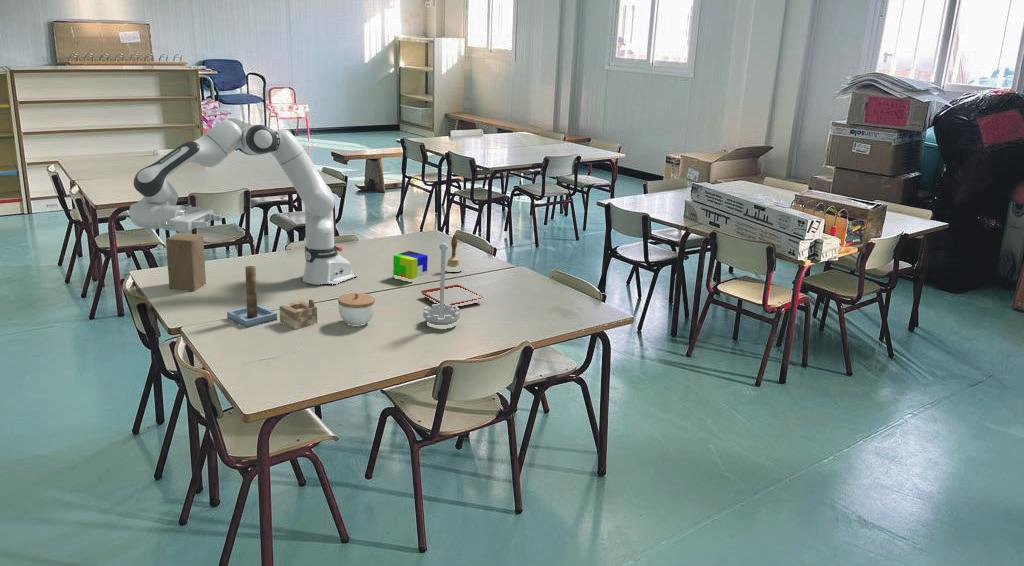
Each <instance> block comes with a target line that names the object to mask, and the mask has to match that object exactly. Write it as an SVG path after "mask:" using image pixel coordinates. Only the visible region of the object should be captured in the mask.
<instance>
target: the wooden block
mask: <svg viewBox="0 0 1024 566" xmlns="http://www.w3.org/2000/svg"><path fill="white" fill-rule="evenodd" d="M204 244H205V243H204V235H203V234H198V233H196V234H195V233H187V232H178V233H175V234H173V235H171V236H169V237H167V238H166V239H165V247H166V261H167V274H168V286H169V287H168V288H169V290H177V291H184V290H189V291H188V292H195V290H196V291H197V290H199V289H200V288H202V287H203V286H205V285H206V284H207V279H206V278H207V277H206V276H207V275H206V260H205V259H206V258H205V246H204ZM204 284H205V285H204ZM201 286H202V287H201ZM198 288H199V289H198Z"/></svg>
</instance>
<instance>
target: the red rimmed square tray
mask: <svg viewBox="0 0 1024 566" xmlns="http://www.w3.org/2000/svg"><path fill="white" fill-rule="evenodd" d="M453 287H460V288H463V289H465V290H468V291H470V292H472V293H474V294H476V295H479V296H481V297H482V298H483V299H484V296H483V295H480V294H478V293H476V292H474V291H472V290H470V289H469V288H466V287H464V286H462V285H460V284H452V285H447V286H445V289H448V288H453ZM438 290H440V287H434V288H428V289H422V290H420V293H421V294H422V295H423V296H424V295H425V296H427V297H429V298H431V299H433V300H435V301H436V302H438V303H440V301H439V300H437V299H435V298H433V297H431V296H430V295H428V294H426V293H427V292H433V291H438ZM425 296H424V297H425ZM478 299H481V298H478ZM473 300H477V299H472V300H467V301H461V302H456V303H451V304H448V305H455V304H460V303H464V302H468V301H473ZM444 306H445V304H444Z"/></svg>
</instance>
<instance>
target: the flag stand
mask: <svg viewBox="0 0 1024 566" xmlns="http://www.w3.org/2000/svg"><path fill="white" fill-rule="evenodd" d="M448 249H449V245H448V244H447V243H446V242H441V243H440V244H439V250H440V251H441V253H440V255H441V258H440V285H439V286H440V306H439V304H435V303H432V304H431V307H430V306H428V305H427V306H425V307H423V312H422V317H423V319H425V322H426V321H427V322H429V323H431V324H434V325H448V324H452V323H454V322H456V321H457V322H458V320H459V319H460V317H461V313H460V312H461V311H460V307H455V308H452V305H448V304H445V307H444V289H445V285H446V282H445V281H446V272H445V267H446V258H447V257H446V256H447V253H446V252H447V250H448ZM444 315H445V318H444ZM438 317H439V318H438Z"/></svg>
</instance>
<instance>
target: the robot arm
mask: <svg viewBox="0 0 1024 566" xmlns="http://www.w3.org/2000/svg"><path fill="white" fill-rule="evenodd" d="M236 150H237V151H239V152H241V153H242V154H245V155H248V156H261V155H265V154H268V153H269V154H271V155H272V156H273V157H274V158H275V159H276V161H277V163H278V164H279V166H280V167H281V169H282V171H283V172H284V174H285V175H286V176H287V178H288V179H289V181H290V182H291V184H292V186H293V188H294V190H295V191H296V193H297V194H298V196H299V197H300V199H301V201H302V203H303V204H304V219H305V221H304V223H305V224H304V225H305V226H304V227H305V246H304V257H305V264H304V266H305V267H304V272H303V275H302V281H303V282H304V283H306V284H310V285H320V284H321V285H322V284H332V285H331V286H334V285H333V284H336V285H339V284H341V283H340V282H342V281H345V280H347V279H349V278H351V277H354V276H355V275H354V274H352V273H354V271H353V270H352V264H351V263H350V262H349V260H347V259H346V258H344V257H343V256H341V255H340V254H339V252H340V253H341V252H343V247H342V246H339V245H335V224H334V222H335V221H334V207H335V197H334V194H333V192H332V189H331V187H329V185H327V184H326V182H325V180H324V179H323V177H322V176H321V174H320V172H319V171H318V169H317V167H316V166H315V164H314V162H313V161H312V159H311V158H310V156H309V155H308V153H307V152H306V150H305V148H304V147H303V146H302V144H301V142H299V140H298V139H297V138H296V137H295V135H294V134H293V133H292V132H291V131H290V130H287V129H281V128H280V129H277V130H274V129H272V128H270V127H268V126H266V125H264V124H253V125H249V126H245V127H240V126H239V125H238V124H236V122H234V121H232V120H229V119H225V120H222V121H220V122H219V123H217V124H216V125H214V126H213V127H211V128H210V129H208V130H207V131H206V132H205V133H203V135H201V136H200V137H198V138H197V139H195V140H190V141H186V142H183V143H182V144H181V145H179V146H176V148H174V149H173V150H171V151H169V152H168V153H167V154H165V155H164V156H162V157H161V158H160V159H158V160H157V161H155V162H154V163H153V162H152V164H150V165H147V166H145V167H143V168H141V169H140V170H138V172H136V174H135V175H134V178H133V188H134V189H135V190H136V191H137V192H138V193H139V194H141V196H143V197H142V198H141V199H140V200H139V201H138V202H136V203H133V204H131V205H130V206H129V209H128V214H129V218H130V221H131V222H132V223H133V224H134V225H135V226H136V227H139V228H144V229H149V230H150V229H151V230H158V229H162V230H165V231H174V232H190V231H192V230H194V229H198V228H209V226H210V221H214V222H221V221H222V219H223V217H222V215H220V214H219V215H217V214H214V210H213V209H212V208H208V207H206V208H205V207H202V206H201V207H200V206H199V207H198V206H192V204H183V205H177V204H178V200H179V193H178V192H177V191H176V189H175V187H174V186H173V185H172V184H171V183H170V182H169V180H168V177H169V176H170V175H171V174H172V173H174V172H175V171H177V170H178V169H180V168H181V167H183V166H184V165H185V164H189V163H194V164H197V165H199V166H202V167H206V168H212V167H216V166H218V165H220V164H221V163H222V162H224V161H225V159H227V157H229V156H230V155H231V153H232V152H234V151H236ZM345 282H346V281H345ZM338 283H339V284H338ZM342 283H343V282H342ZM321 285H320V286H321Z"/></svg>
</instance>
